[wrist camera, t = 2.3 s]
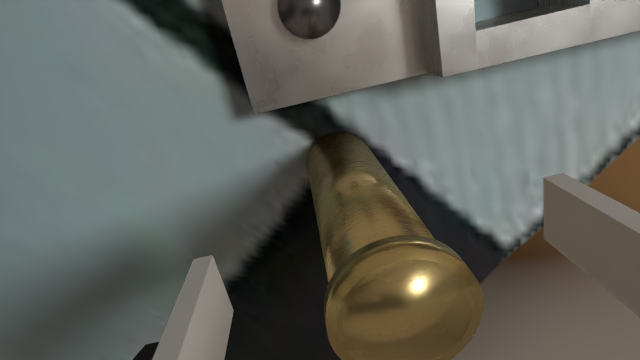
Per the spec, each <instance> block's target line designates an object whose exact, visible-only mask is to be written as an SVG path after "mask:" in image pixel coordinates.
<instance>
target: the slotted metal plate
mask: <svg viewBox="0 0 640 360" xmlns="http://www.w3.org/2000/svg"><path fill="white" fill-rule="evenodd" d="M221 1H222V4H223V8H224V11H225V15H226V18H227V22H228V25H229V29H230V32H231V36H232V39H233V43H234V46H235V50H236V53H237V57H238V60H239V64H240V67H241V71H242V74H243V77H244V81H245V84H246V88H247V91H248V95H249V98H250V102H251V105H252V109H253V112H254V114H258V113H262V112H266V111H270V110H275V109H279V108H283V107H287V106H291V105H296V104H300V103H304V102H308V101H312V100H317V99H321V98H325V97H329V96H333V95H338V94H342V93H346V92H350V91H354V90H359V89H363V88H367V87H371V86H375V85H380V84H384V83H388V82H392V81H396V80H401V79H405V78H409V77H413V76H417V75H421V74H426V73H431V74H434V75H437V76H440V77H447V76H451V75H455V74H459V73H463V72H468V71H472V70H476V69H480V68H484V67H489V66H493V65H497V64H501V63H505V62H510V61H514V60H518V59H522V58H526V57H530V56H535V55H539V54H543V53H547V52H551V51H556V50H560V49H564V48H568V47H572V46H577V45H581V44H585V43H589V42H593V41H598V40H602V39H606V38H610V37H614V36H619V35H623V34H627V33H631V32H635V31H640V0H538V8H535V9H531V10H526V11H522V12H518V13H514V14H510V15H505V16H501V17H497V18H493V19H489V20H484V21H480V22H476V23H475V11H474V0H221Z"/></svg>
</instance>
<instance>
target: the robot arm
mask: <svg viewBox="0 0 640 360" xmlns="http://www.w3.org/2000/svg"><path fill="white" fill-rule="evenodd" d="M544 239H545V240H546V241H547V242H549V243H550V244H551V245H552V246H554V247H555V248H556V249H557V250H559V251H560V252H561V253H562V254H563V255H565V256H566V257H567V258H568V259H570V260H571V261H572V262H573V263H574V264H576V265H577V266H578V267H579V268H580V269H582V270H583V271H584V272H586V273H587V274H588V275H589V276H590V277H591V278H593V279H594V280H595V281H596V282H598V283H599V284H600V285H601V286H603V287H604V288H605V289H606V290H607V291H609V292H610V293H611V294H612V295H613V296H615V297H616V298H617V299H619V300H620V301H621V302H622V303H623V304H625V305H626V306H627V307H628V308H630V309H631V310H632V311H633V312H634V313H635V314H637V315H638V316H639V317H640V213H638V212H636V211H634V210H632V209H630V208H628V207H626V206H625V205H623V204H621V203H619V202H617V201H615V200H613V199H611V198H609V197H607V196H606V195H603V194H602V193H600V192H598V191H596V190H594V189H592V188H590V187H588V186H586V185H585V184H583V183H581V182H579V181H577V180H575V179H573V178H571V177H569V176H567V175H565V174H563V173H562V174H558V175H553V176H549V177H545V178H544ZM233 311H234V310H233V308H232V305H231V302H230V300H229V297H228V294H227V292H226V289H225V286H224V284H223V281H222V279H221V276H220V273H219V271H218V268H217V265H216V263H215V260H214V257H213V255H210V256H205V257H201V258H197V259H193V261H192V264H191V266H190V269H189V271H188V274H187V276H186V279H185V281H184V283H183V286H182V288H181V291H180V293H179V296H178V298H177V300H176V303H175V305H174V308H173V310H172V313H171V315H170V317H169V320H168V322H167V325H166V327H165V330H164V332H163V334H162V337H161V339H160V342H155V343H151V344H147V345H145V346H144V347H143V348H142V350H141V351H140V352H139V353H138V354H137V355H136V356H135V358H134V359H133V360H224V357H225V352H226V347H227V342H228V337H229V332H230V326H231V321H232V316H233Z"/></svg>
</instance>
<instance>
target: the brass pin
mask: <svg viewBox="0 0 640 360" xmlns="http://www.w3.org/2000/svg"><path fill="white" fill-rule="evenodd" d="M307 169H308V175H309V180H310V185H311V191H312V196H313V202H314V207H315V212H316V218H317V223H318V228H319V234H320V239H321V245H322V250H323V255H324V261H325V266H326V271H327V277H328V282H329V284H328V286H327V289H326V292H325V297H324V315H325V321H326V328H327V334H328V338H329V341H330V344H331V346H332V348H333V350H334V351H335V353H336V354H337V355H338V357H339V358H340V359H341V360H451V359H452V358H453V357H455V356H456V355H457V354H458V353H459V352H460V351H461V350H462V349H463V348H464V347H465V346H466V345H467V344H468V343H469V341H470V340H471V339H472V337H473V335H474V334H475V332H476V330H477V328H478V326H479V323H480V320H481V317H482V311H483V297H482V291H481V289H480V285H479V283H478V281H477V279H476V278H475V276H474V275H473V274H472V272H471V271H470V270H469V268H468V267H467V266H466V265H465V263H464V262H463V261H462V259H461V258H460V257H459V256H458V254H457V253H455V252H454V251H453V250H452V249H451V248H449V247H448V246H447V245H445V244H443V243H441V242H439V241H437V240H435V239H434V238H433V236H432V235H431V234H430V232H429V231H428V229H427V228H426V227H425V225H424V224H423V223H422V221H421V220H420V218H419V217H418V216H417V214H416V213H415V211H414V210H413V209H412V207H411V206H410V205H409V203H408V202H407V200H406V199H405V198H404V196H403V195H402V193H401V192H400V191H399V189H398V188H397V187H396V185H395V184H394V182H393V181H392V180H391V178H390V177H389V176H388V174H387V173H386V171H385V170H384V169H383V167H382V166H381V164H380V163H379V162H378V160H377V159H376V158H375V156H374V155H373V153H372V152H371V151H370V149H369V148H368V146H367V145H366V144H365V142H364V141H363V140H362V139H361V138H359V137H358V136H356V135H355V134H352V133H350V132H345V131H336V132H331V133H328V134H326V135H324V136H322V137H321V138H319V139H318V140H317V141H316V142H315V143H314V144H313V146H312V147H311V149H310V151H309V154H308V157H307Z"/></svg>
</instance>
